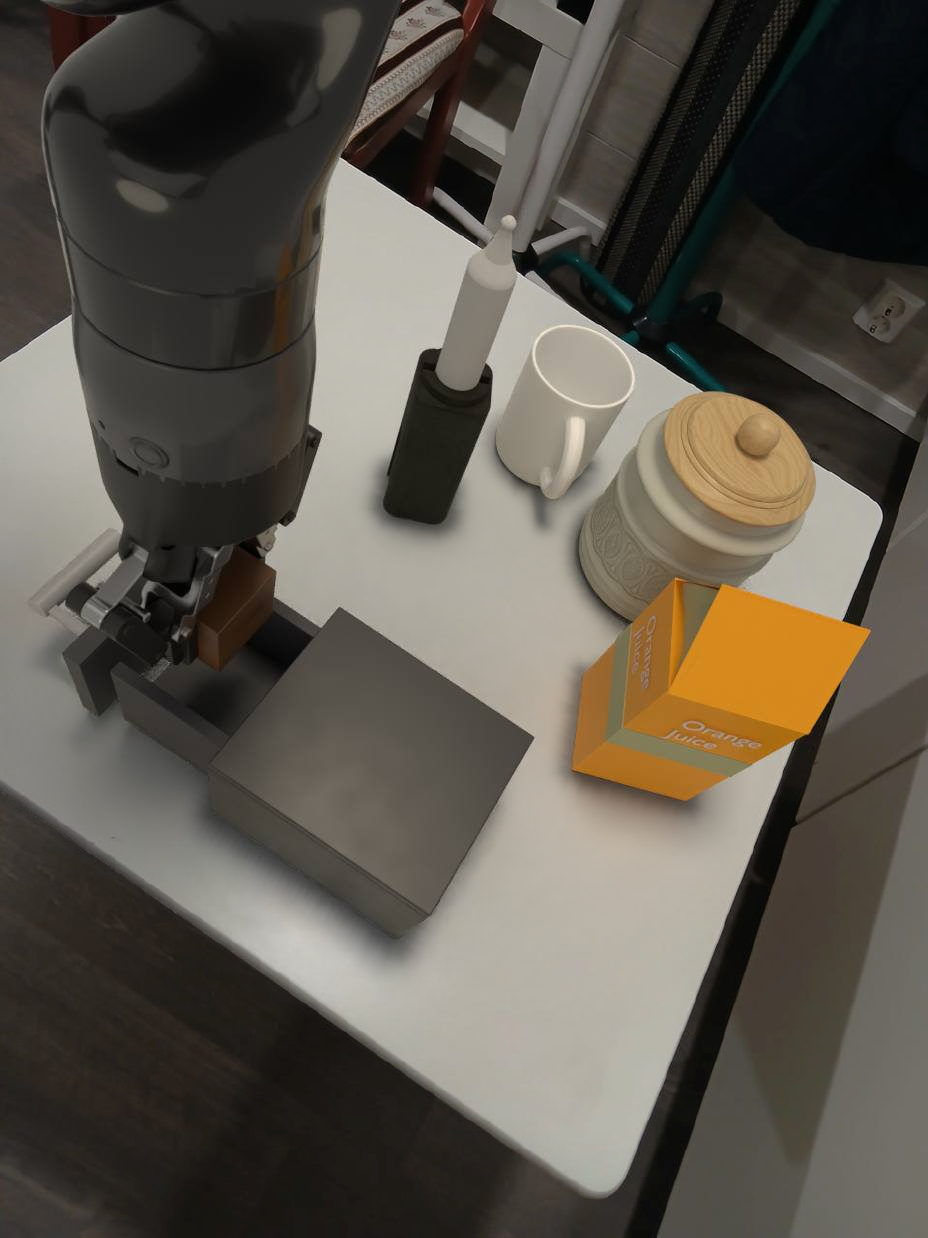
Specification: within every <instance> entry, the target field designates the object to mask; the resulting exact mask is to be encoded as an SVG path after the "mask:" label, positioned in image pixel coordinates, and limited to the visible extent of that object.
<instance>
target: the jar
mask: <svg viewBox="0 0 928 1238" xmlns="http://www.w3.org/2000/svg"><path fill="white" fill-rule="evenodd" d="M816 480H817V479H816V472H815V467H814V465H813V461H812V459H811V457H810V454H809V453H808V451H807V449H806V447H805V445H804V444H803V442H802V441H801V439H800V438H799V437H798V435H797V433H796V432H795V431H794V430H793V429H792V427H791V426H790V425H789V423H787V422H786V421H785V420H784V419H783V418H782V417H781V416H779V415H778V414H777V413H775V412H774V411H773V410H771V409H769V408H768V407H767V406H765V405H763V404H761V403H759V402H757V401H755V400H752V399H749V398H747V397H744V396H742V395H738V394H735V393H729V392H724V391H702V392H696V393H692V394H690V395H688V396H685V397H684V398H682V399H681V400H679V401H678V402H677V403H676V404H674V405H673V407H671V408H667V409H665V410H663V411H661V412H659V413H657V414H656V415H655V416H654V417H653V418H651V419H650V420H649V421H648V422H647V423H646V424H645V426H644V427H643V429H642V430H641V433H640V435H639V437H638V440H637V444H636V445H635V446H633V447H632V448H631V449H630V450H629V451H628V452H627V453H626V455H625V457H624V458H623V459H622V462H621V463H620V466H619V468H618V471H617V472H616V473H615V475H614V477H613V478H612V479H611V481H610V483H609V484H608V486H607V487H606V489H605V490H604V492H603V493H601V494H600V496H598V498H597V499H596V500H595V501H594V502H593V504H592V505H591V507H590V508H589V510H588V512H587V514H586V516H585V518H584V521H583V523H582V527H581V530H580V534H579V539H578V556H579V557H578V558H579V562H580V565H581V568H582V571H583V573H584V576H585V578H586V580H587V582H588V584H589V585H590V586H591V588H592V590H593V591H594V593H595V594H596V595H597V596H598V597H599V598H600V599H601V601H602V602H604V604H606V605H607V606H608V607H609V608H610V609H612V610H613V611H614V612H615V613H617V614H618V615H620V616H621V617H624V618H625V619H627V620H628V621H631V623H633V622H634V621H635V620H636V619H637V618H638V617H639V616H640V615H641V613H642V612H643V611H644V610H645V609H646V608H647V607H648V606H649V605H650V604H651V603H652V602H653V601H654V600H655V599H656V598H657V596H658V595H659V594H660V593H661V592H662V591H663V590H664V589H665V588H666V587H667V586H668V585H669V584H670V583H671V582H672V580H673V579H674V578H678V579H681V580H684V581H688V582H695V583H701V584H708V585H714V586H720V587H721V586H722V584H725V585H729V586H732V587H735V588H738V589H739V587H740V586H741V585H742V584H744V582H746V581H747V580H748V579H749V578H750V577H752V576H754V575H756V574H757V573H759V572H760V571H761V570H762V569H763V568H764V567H765V566H767V564H768V563H769V562H770V561H771V560H772V557H773V556H774V554H775V553H777V552H780V551H782V550H783V549H785V548H786V547H788V546H789V545H790V544H791V543H792V542H793V541H794V540H795V539H796V537H797V536H798V535H799V533H800V532H801V529H802V527H803V526H804V523H805V518H806V511H808V509H809V508H810V506H811V505H812V503H813V500H814V498H815V493H816V486H817V481H816Z"/></svg>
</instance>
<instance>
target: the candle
mask: <svg viewBox="0 0 928 1238" xmlns="http://www.w3.org/2000/svg"><path fill="white" fill-rule="evenodd" d="M516 228H517V220H516V219H515V217H514V216H513V215H512V214H508V215H507V214H506V215H505V216H503V217H502V218H501V220H500V227H499V229H498V231H496V232H495V234H494V236H492V238H491V239H490V241H489V242H488V243H487V244H486V245H485V247H484V248H482V249H480V250H478V251H476V253H474V254H472V256H471V257H469V259H468V262H467V264H466V268H465V271H464V274H463V277H462V280H461V281H462V282H461V285H460V286H459V291H458V294H457V297H456V301H455V304H454V308H453V311H452V314H451V317H450V320H449V323H448V327H447V330H446V334H445V337H444V341H443V344H442V346H441V347H440V348H435V347H434V348H433V347H432V348H427V349H425V350H423V351H422V352H421V353H420V354H419V356H418V360H417V364H416V367H415V371H414V375H413V377H412V382H411V385H410V389H409V393H408V396H407V399H406V404H405V407H404V411H403V414H402V418H401V421H400V425H399V430H398V432H397V436H396V439H395V444H394V447H393V451H392V454H391V457H390V461H389V465H388V469H387V472H386V476H387V477H388V481H387V486H386V489H385V492H384V496H383V500H382V506H383V508H384V510H385V512H386V513H388V514H389V515H390V516H393V517H395V518H401V519H406V520H411V521H415V522H421V523H425V524H430V525H438V524H441V523H442V522H444V521H445V520H446V519H447V516H448V513H449V511H450V509H451V507H452V504H453V501H454V499H455V496H456V494H457V492H458V490H459V487H460V484H461V482H462V479H463V477H464V474H465V472H466V469H467V467H468V465H469V462H470V460H471V457H472V455H473V452H474V450H475V448H476V445H477V443H478V440H479V438H480V435H481V433H482V430H483V428H484V426H485V423H486V421H487V418H488V416H489V413H490V412H491V411H490V410H491V407H492V396H493V383H494V382H493V381H494V372H493V370H492V367H491V366H490V365H489V364H488V363H487V361H488V358H489V355H490V352H491V350H492V347H493V345H494V342H495V339H496V337H497V334H498V331H499V329H500V326H501V323H502V322H503V318H504V315H505V312H506V310H507V307H508V305H509V302H510V299H511V298H512V294H513V291H514V289H515V286H516V283H517V279H518V272H517V268H516V265H515V262H514V259H513V231H514V230H515V229H516Z"/></svg>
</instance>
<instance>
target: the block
mask: <svg viewBox="0 0 928 1238" xmlns="http://www.w3.org/2000/svg"><path fill="white" fill-rule="evenodd" d="M277 573H278V572H277V570H276V569H275V568H273V567H271V566H270V565H268V564H267V563H266V562H265V563H264V562H263V561H261V560H260V559H258V558H257V557H255V556H254V555H252V554H251V553H249V552H248V551H246V550H245V549H243V548H242V547H240V546H239V545H237V546H236V547H235V548H234V549H233V550H232V553H231V557H230V560H229V562H228V563H226V564H225V565H224V566H222V568H221V572H220V576H219V579H218V583H217V586H216V590H215V593H214V597H213V600H212V602H210V603H209V604H208V605H207V606H205V607H204V608H203V609H202V610H201V611H199V613H198V616H197V620H196V624H195V625H196V626H197V633H198V647H199V656H198V657H197V658H198V659H199V660H200V661H202V662H203V663H205V664H206V665H208V666H209V667H211V668H212V669H214V670H215V671H217V672H220V671H221V670H222V669H223V668H224V667H225V666H226V665H227V663H228V662H229V661H230V660H231V659H232V658H233V657H234V656H235V654H236V653H237V652H238V651H239V650H240V649H241V648H242V647H243V645H244V644H245V643H246V642H247V641H248V640H249V639H250V638H251V636H252V635H253V634H254V633H255V632H256V631H257V630H258V629H259V628H260V626H261V625H262V624H263V623H264V622H265V621H266V620H267V619H268V617H269V616H270V615H271V614H272V612H273V602H274V597H275V592H276V581H277ZM166 602H167V601H166ZM169 604H170V603H169Z"/></svg>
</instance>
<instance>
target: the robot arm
mask: <svg viewBox="0 0 928 1238" xmlns="http://www.w3.org/2000/svg"><path fill="white" fill-rule="evenodd" d="M39 1H40V2H41V3H44V4H45V5H47V6H49V7H51V8H54V9H56V10H59V11H62V12H65V13H68V14H72V15H77V16H81V17H90V18H91V17H92V18H93V17H95V18H96V17H97V18H99V17H112V16H118V17H117V18H116V19H115V20H114V21H112V23H110V24H108V25H107V26H106V27H105V28H104V29H101V31H99V32H98V33H96V34H95V35H94V36H92V37H91V38H90V39H88V40H87V41H85V42H84V43H83V44H82V45H81V46H79V47H78V48H77V49H75V50H74V51H73V52H72V53H71V54H70V55H69V56H67V58H66V59H64V61H63V62H62V63H61V64H60V66H59V67H58V69H57V70H56V71H55V73H54V74H53V76H52V77H51V79H50V81H49V83H48V85H47V87H46V89H45V93H44V96H43V102H42V109H41V119H40V135H41V148H42V154H43V161H44V166H45V173H46V178H47V183H48V187H49V193H50V197H51V198H50V199H51V203H52V205H53V208H54V212H55V213H54V214H55V218H56V223H57V228H58V233H59V237H60V242H61V248H62V254H63V258H64V262H65V268H66V273H67V278H68V282H69V291H70V297H71V298H70V299H71V334H72V346H73V352H74V357H75V362H76V367H77V371H78V372H77V373H78V376H79V380H80V386H81V389H82V395H83V399H84V403H85V409H86V413H87V418H88V422H89V426H90V430H91V435H92V439H93V440H92V441H93V445H94V449H95V454H96V458H97V463H98V468H99V472H100V477H101V481H102V484H103V487H104V489H105V492H106V494H107V496H108V498H109V500H110V502H111V503H112V505H113V507H114V509H115V510H116V513H117V515H118V516H119V518H120V520H121V522H122V531H121V533H120V534H121V537H120V540H119V544H118V553H117V554H118V557H119V559H120V561H121V562H120V564H119V565H118V566H117V567H116V568H115V570H114V571H113V572H112V574H111V575H110V576H109V577H108V578H107V579H106V580H105V581H104V580H102V581H99V582H98V583H96V586H95V587H94V586H93V585H91V584H90V583H89V582H88V581H86V582H82V583H80V584H78V585H77V586H75V587H74V588H73V589H72V590H71V591H70V593H69V594H68V596H67V598H66V600H65V601H64V605H65V607H66V608H67V609H68V610H69V611H71V612H72V613H74V614H75V615H77V616H78V617H80V618H81V619H82V620H84V621H85V622H86V623H88V624H89V625H92V626H94V627H95V628H96V629H98V630H99V631H100V632H102V633H103V634H105V635H106V636H108V637H109V638H110V639H112V640H113V641H115V642H117V643H119V644H120V645H121V646H123V647H124V648H126V649H127V650H129V651H130V652H132V653H133V654H134V655H136V656H137V657H138V658H140V659H141V660H143V661H144V662H146V663H147V664H149V666H150V667H153V666H156V664H158V663H159V662H160V661H161V660H162V659H164V660H166V661H168V662H169V663H170V664H171V663H172V664H174V665H176V666H177V665H178V664H179V663H180V662H183V663H184V664H186V665H190V664H191V663H192V662H193V661H194V660H195V659H196V658H197V657H198V656H199V647H198V633H197V626H196V625H195V624H196V620H197V616H198V613H199V611H201V610H202V609H203V608H204V607H205V606H207V605H208V604H209V603H210V602H212V600H213V597H214V593H215V590H216V586H217V583H218V579H219V576H220V572H221V568H222V566H224V565H225V564H226V563H228V562H229V560H230V557H231V553H232V550H233V549H234V548H235V547H236V546H237V545H239V546H240V547H242V548H243V549H245V550H246V551H248V552H249V553H251V554H252V555H254V556H255V557H257V558H258V559H260V560H261V561H263V562H264V563H266V559H267V555H268V554H269V553H270V552H271V551H272V550H273V549H274V546H275V543H276V539H277V538H276V535H275V533H276V532H277V530H278V525H279V524H280V525H281V526H282V527H288V526H290V524H291V523H292V522H294V521H295V519H296V518H297V515H298V512H299V508H300V505H301V502H302V499H303V496H304V493H305V490H306V487H307V484H308V481H309V477H310V474H311V472H312V468H313V465H314V462H315V459H316V456H317V452H318V449H319V446H320V444H321V440H322V437H323V432H322V431H321V430H319V429H318V428H316V427H315V426H313V425H311V424H310V417H311V408H312V401H313V392H314V385H315V378H316V371H317V330H316V329H317V328H316V305H317V296H318V288H319V279H320V271H321V263H322V253H323V246H324V238H325V237H324V236H325V226H326V224H325V223H326V211H327V210H326V209H327V196H328V191H329V187H330V183H331V181H332V177H333V175H334V173H335V170H336V168H337V165H338V163H339V161H340V159H341V156H342V154H343V152H344V150H345V148H346V145H347V143H348V141H349V139H350V137H351V135H352V132H353V130H354V128H355V126H356V123H357V122H358V120H359V118H360V115H361V112H362V111H363V107H364V105H365V101H366V99H367V97H368V94H369V91H370V88H371V86H372V83H373V81H374V78H375V75H376V72H377V70H378V67H379V65H380V62H381V59H382V57H383V54H384V51H385V49H386V46H387V43H388V40H389V38H390V34H392V33H391V32H392V30H393V27H394V25H395V22H396V19H397V17H398V14H399V12H400V9H401V6H402V4H403V1H404V0H39ZM166 601H167V602H166ZM169 603H170V604H169Z"/></svg>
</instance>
